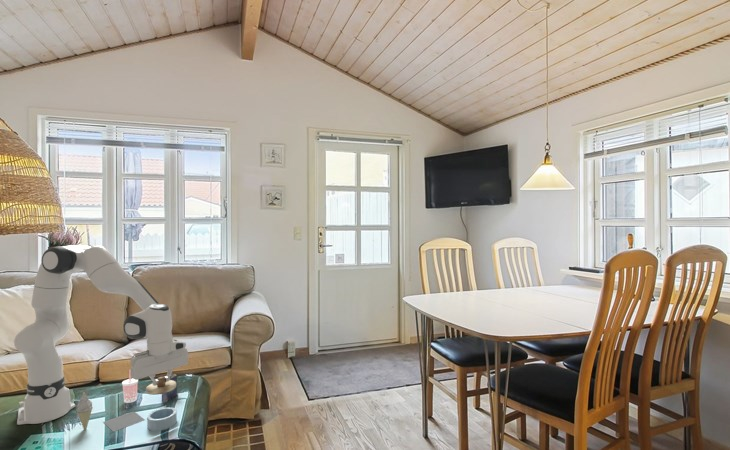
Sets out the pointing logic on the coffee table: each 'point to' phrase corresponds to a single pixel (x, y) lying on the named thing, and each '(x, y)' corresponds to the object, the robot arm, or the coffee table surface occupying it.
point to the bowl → (161, 419)
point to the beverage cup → (130, 389)
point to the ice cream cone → (84, 410)
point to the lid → (161, 386)
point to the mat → (123, 421)
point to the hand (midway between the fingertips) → (161, 383)
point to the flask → (171, 393)
